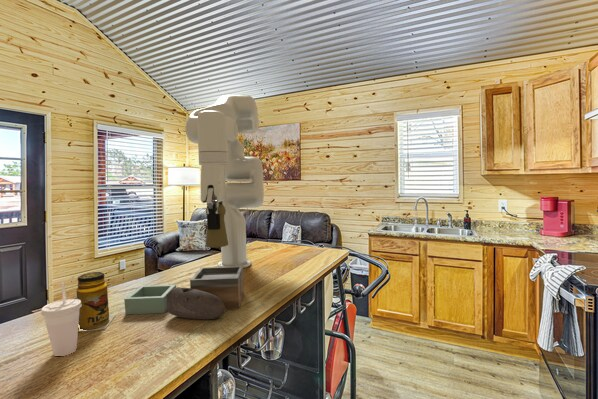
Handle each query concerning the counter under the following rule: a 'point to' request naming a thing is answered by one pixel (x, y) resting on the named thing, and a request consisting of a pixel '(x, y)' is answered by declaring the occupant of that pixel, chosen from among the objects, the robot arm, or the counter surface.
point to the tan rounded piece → (217, 232)
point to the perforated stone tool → (194, 304)
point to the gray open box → (221, 284)
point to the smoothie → (62, 324)
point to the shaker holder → (147, 299)
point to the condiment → (93, 302)
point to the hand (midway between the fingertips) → (216, 226)
